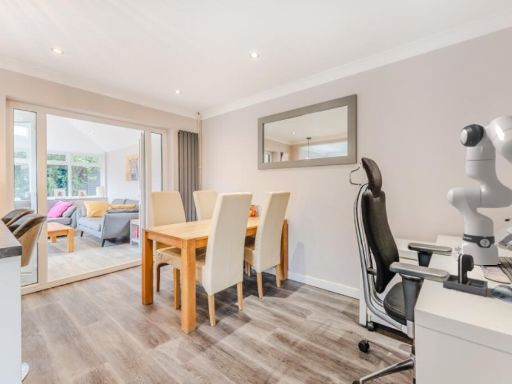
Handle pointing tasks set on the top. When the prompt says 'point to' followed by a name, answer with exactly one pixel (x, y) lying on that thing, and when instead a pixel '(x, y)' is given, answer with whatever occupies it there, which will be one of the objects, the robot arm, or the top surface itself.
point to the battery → (464, 268)
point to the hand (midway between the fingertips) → (504, 246)
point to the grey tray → (476, 285)
